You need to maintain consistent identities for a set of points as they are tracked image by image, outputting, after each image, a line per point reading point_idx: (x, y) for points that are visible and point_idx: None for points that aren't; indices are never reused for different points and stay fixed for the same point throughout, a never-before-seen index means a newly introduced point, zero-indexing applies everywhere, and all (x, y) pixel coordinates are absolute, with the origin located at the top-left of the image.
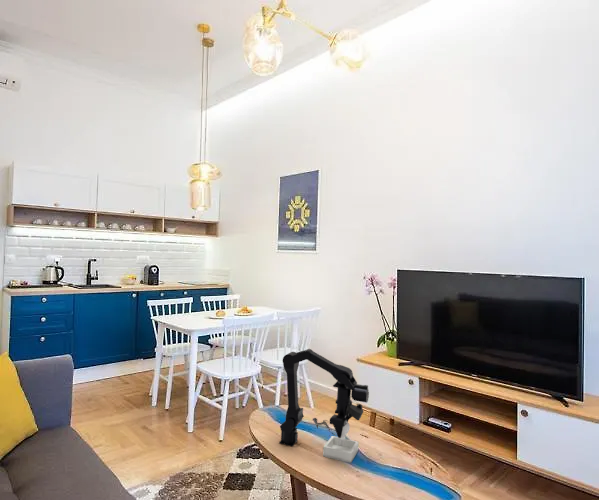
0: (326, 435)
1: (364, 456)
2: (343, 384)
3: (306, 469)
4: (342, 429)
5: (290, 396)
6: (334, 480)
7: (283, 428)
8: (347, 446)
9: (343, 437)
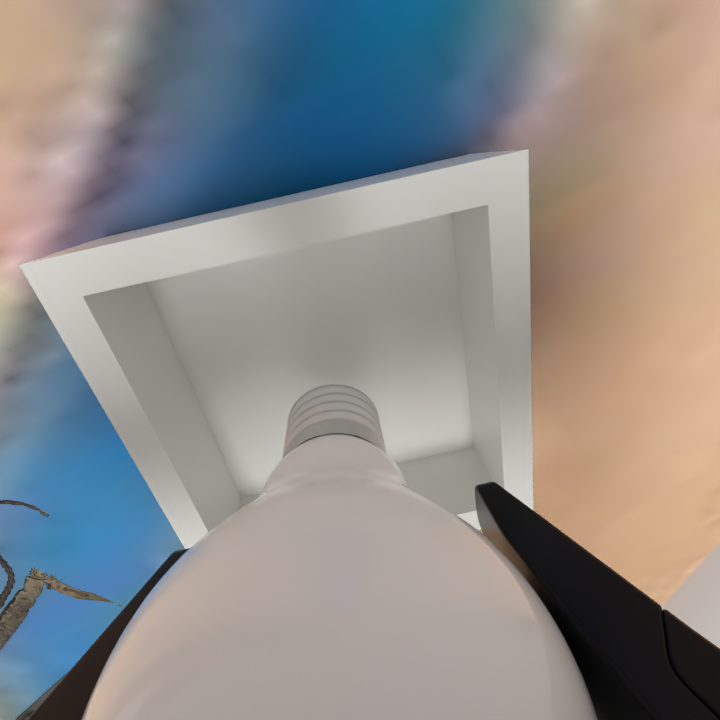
0: (107, 612)
1: (163, 76)
2: None
3: None
4: (668, 668)
5: None
6: None
7: None
8: (177, 371)
9: (382, 460)
